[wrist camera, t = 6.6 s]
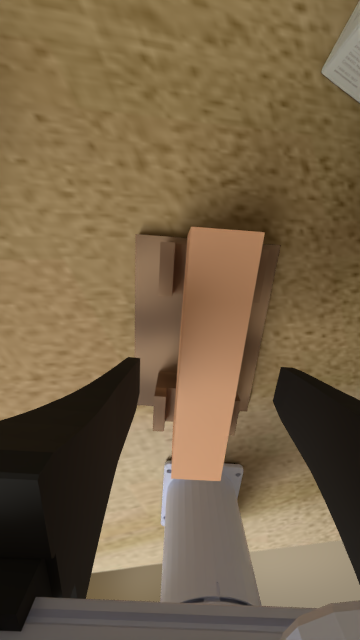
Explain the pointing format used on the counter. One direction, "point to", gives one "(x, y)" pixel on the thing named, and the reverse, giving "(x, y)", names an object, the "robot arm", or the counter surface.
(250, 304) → the bar
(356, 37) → the small box
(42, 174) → the counter surface
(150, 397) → the stand
